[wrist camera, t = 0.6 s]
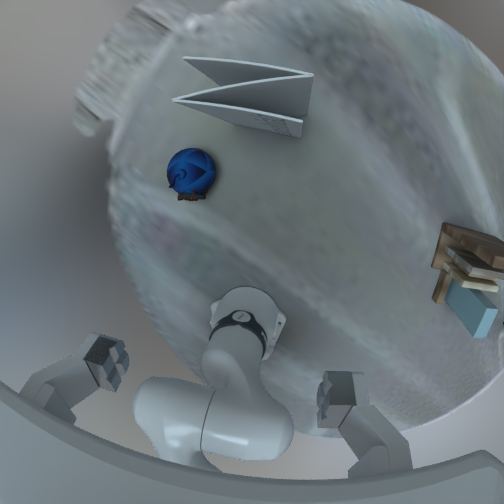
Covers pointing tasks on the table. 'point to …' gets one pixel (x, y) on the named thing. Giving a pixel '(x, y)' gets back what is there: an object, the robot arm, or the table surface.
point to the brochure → (252, 94)
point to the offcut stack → (471, 270)
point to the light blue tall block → (471, 308)
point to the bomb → (191, 173)
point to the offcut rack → (467, 239)
